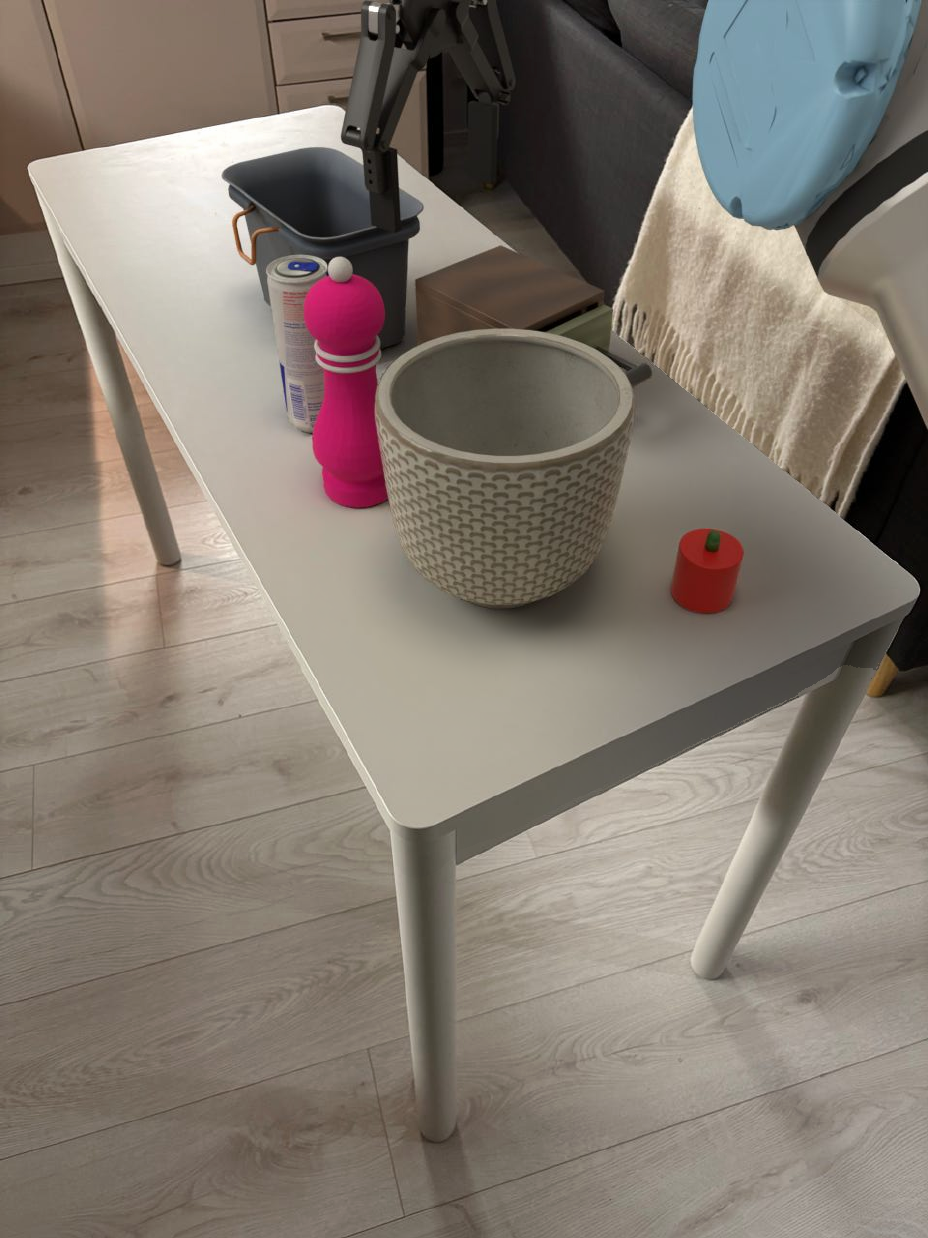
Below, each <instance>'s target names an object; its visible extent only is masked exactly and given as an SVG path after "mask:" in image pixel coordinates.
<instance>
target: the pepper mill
mask: <svg viewBox="0 0 928 1238" xmlns="http://www.w3.org/2000/svg"><path fill="white" fill-rule="evenodd" d="M352 272H353V269H352V265H351V263H350V262H349V260H347V259H346V258H344V257H336V258H334V259H332V260H331V261H330V263H329V265H328V273H329V276H327V277H324V278H323V279H321V280H319V281H318V282H316V283H315V284H314V285H313V286H312V287H311V288H310V290H309V292H308V293H307V296H306V298H305V301H304V309H303V311H304V321H305V325H306V327H307V329H308V331H309V332H310V334H311V335H312V336H313V337H314V338H315V339H316V340H315V343H314V348H315V351H316V355H315V358H316V361H317V363H318V364H319V365H320V366H321V367H322V368H323V373H324V387H325V391H324V397H323V402H322V405H321V408H320V411H319V414H318V416H317V419H316V421H315V425H314V430H313V433H312V436H311V438H312V452H313V455H314V458H315V460H316V461H317V463H318V465H320V467H322V470H321V474H322V475H321V476H322V485H323V491H324V493H325V495H326V496H327V497H328V499H330V500H331V501H332V502H334V503H336V504H338V505H340V506H344V507H349V508H368V507H373V506H376V505H379V504H381V503H383V502H386V501H387V500H389V499H388V494H387V490H386V484H385V478H384V472H383V466H382V459H381V453H380V447H379V441H378V435H377V428H376V420H375V396H376V389H377V385H378V383H379V381H378V375H377V364H378V363H379V361H380V360H381V357H382V351H381V349H380V348H379V347H380V339H379V337H378V336H377V334H378V333H379V332H380V331H381V329H382V326H383V324H384V320H385V309H384V304H383V300H382V297H381V295H380V293H379V291H378V290H377V288H376V287H375V286H374V285H373V284H372V283H371V282H370V281H368V280H366V279H365V278H363V277H360V276H357V275H354V274H352Z"/></svg>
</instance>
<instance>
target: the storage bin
mask: <svg viewBox="0 0 928 1238" xmlns="http://www.w3.org/2000/svg"><path fill="white" fill-rule="evenodd" d="M364 178H365V177H364V167H363V163H361V162H359V161H357V160H356V159H354V158H352V157H350V156H349V155H347V154H346V153H345V152H342V151H340V150H338V149H335V148H331V147H327V146H326V147H325V146H311V147H310V146H309V147H301V148H296V149H293V150H287V151H284V152H280V153H275V154H270V155H265V156H261V157H257V158H252V159H248V160H244V161H240V162H237V163H234V164H231V165H229V166H228V167H225V169H224V170H222V172H221V179H222V180H223V181H224V182H226V183H227V184H229V185H228V188H227V189H228V197H229V198H230V199H231V200H232V201H233V202H234V203H235V204H237V206H238V207H240V208H242V210H241V211H238V212H236V213H235V214H234V215H233V217H232V219H231V224H232V230H233V236H234V242H235V245H236V250H237V252H238V255H239V257H240V258H242V259H243V260H244V261H245V262H246V263H247V264H249V265H250V266H256V270H257V274H258V279H259V283H260V287H261V292H262V296H263V300H264V302H265V303H266V304H267V305H268V306H269V307H271V302H270V296H269V289H268V283H267V277H268V275H267V273H266V269H267V266H268V265H269V264H270V263H271V262H273V261H274V260H276V259H279V258H282V257H286V256H291V255H310V256H315V257H318V258H320V259H322V260H324V261H325V262H326V264H327V266H328V265H329V263H330V261H331V260H332V259H334V258H336V257H344V258H346V259H347V260H349V262H350V263H351V265H352V269H353V272H352V274H354V275H357V276H360V277H363V278H365V279H366V280H368V281H370V282H371V283H372V284H373V285H374V286H375V287H376V288H377V290H378V291H379V293H380V295H381V297H382V300H383V304H384V309H385V320H384V324H383V326H382V329H381V331H380V332H379V333H378V334H377V336H378V337H379V339H380V347H379V348H380V350H382V349H384V348H385V349H386V348H388V347H390V346H394V345H397V344H399V343H401V342H402V341H403V340H404V339H405V336H406V322H407V321H406V318H407V290H408V289H407V288H408V266H409V243H410V241H409V240H410V239H412V238H414V237H416V236H417V234H420V231H421V223H420V219H419V217H418V216H419V215H420V214H421V213H422V212H423V211H424V208H425V206H424V203H422V202H421V200H419V199H418V198H416V197H414V196H413V195H411V194H410V193H409V192H407V191H405V190H404V189H402V188H400V187H399V196H400V215H401V231H399V232H397V233H394V232H391V231H388V230H384V229H381V228H378V227H375V226H372V225H371V212H370V198H369V190H367V189H366V186H365V181H364ZM243 216H244V219H245V223H246V227H247V231H248V237H249V240H250V244H251V246H250V248H251V249H250V250H251V252H250V253H251V257H250V256H248V255H246V254H245V252H244V251H243V248H242V243H241V238H240V234H239V229H238V221H239V219H240V218H241V217H243ZM327 272H328V270H327ZM328 274H329V273H328Z"/></svg>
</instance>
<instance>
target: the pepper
mask: <svg viewBox="0 0 928 1238" xmlns="http://www.w3.org/2000/svg"><path fill="white" fill-rule="evenodd" d="M744 555H745V550H744V547H743V545H742V543H741V542H740V540H738V539H737V538H736V537H735V536H734V535H732V534H730V533H728V532H726V531H723V530H720V529H716V528H708V527H707V528H697V529H692V530H690V531H688V532H687V533H685V534H684V535H682V537H681V538H680V540H679V543H678V549H677V553H676V559H675V563H674V569H673V573H672V579H671V586H670V593H671V596H672V598H673V600H674V601H675V602H676V603H677V604H679V606H681V607H683V608H684V609H686V610H688V611H691V612H693V613H694V612H695V613H699V614H715V613H718V612H721V611H724V610H726V609H727V608H728V607H729V606H730V605H731V603H732V601H733V598H734V594H735V591H736V587H737V583H738V579H739V574H740V571H741V568H742V564H743V559H744Z"/></svg>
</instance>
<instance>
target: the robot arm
mask: <svg viewBox="0 0 928 1238" xmlns="http://www.w3.org/2000/svg"><path fill="white" fill-rule="evenodd" d="M360 7H361V8H360V40H359V43H358V49H357V53H356V54H357V55H356V58H355V64H354V69H353V73H352V79H351V82H350V83H351V84H350V88H349V93H348V97H347V103H346V106H345V107H346V108H345V112H344V118H343V122H342V126H341V127H342V128H341V133H340V140H341V143H342V144H344V145H348V146H351V147H355V148H358V149H360V150H361V152H362V165H363V167H364V177H365V178H364V181H365V186H366V189H367V190H369V198H370V212H371V225H372V226H375V227H378V228H381V229H384V230H388V231H391V232H394V233H397V232H399V231H401V215H400V196H399V188H400V177H399V160H398V148H394V147H390V145H391V143H392V140H393V138H394V134H395V132H396V130H397V127H398V124H399V122H400V119H401V117H402V113H403V111H404V109H405V106H406V104H407V101H408V98H409V96H410V93H411V91H412V88H413V85H414V83H415V80H416V78H417V75H418V72H419V71H421V70H423V69H424V68H425V67H426V65H427V63H428V60H429V59H433V58H436V57H437V56H438V55H440V54H441V53H442V52H445V53H449V55H450V57H451V59H452V60H453V61H454V63H455V65H456V67H457V69H458V71H459V72H460V74H461V75H462V77H463V79H464V81H465V82H466V84H467V86H468V87H469V89H470V91H471V93H472V95H473V96H474V98H475V99H477V100H471V101H468V102H467V179H468V180H472V181H476V182H480V183H482V184H487V185H490V186H492V185H494V184H496V183H497V159H498V158H497V157H498V155H497V154H498V137H499V129H500V127H499V125H500V123H499V121H500V119H499V118H500V105H504V106H507V105H509V104H510V102H511V98H512V93H511V91H513V90H514V89H515V87H516V83H517V82H516V81H517V79H516V75H515V71H514V67H513V64H512V60H511V56H510V53H509V48H508V44H507V41H506V37H505V33H504V29H503V26H502V22H501V18H500V15H499V14H500V13H499V9H498V5H497V0H389V1H388V2H378V1H372V0H364V1H363V2H362V4H361V6H360ZM697 44H698V46H697V56H696V61H695V65H694V68H693V77H692V79H693V80H692V120H693V129H694V130H693V132H694V140H695V144H696V150H697V155H698V158H699V162H700V166H701V169H702V172H703V175H704V177H705V180H706V183H707V184H708V186H709V189H710V191H711V193H712V195H713V196H714V198H715V199H716V201H717V202H718V203H719V205H720V206H721V207H722V208H723V209H724V210H725V211H726V212H727V213H728V214H729V215H730V216H731V217H732V218H735V219H737V220H743V221H744V222H745V223H747V225H748V224H749V225H750V226H752V227H760V228H763V229H764V230H767V231H782V230H783V231H784V230H787V229H790V228H792V227H794V229H795V230H796V232H797V235H798V237H799V239H800V242H801V244H802V246H803V248H804V251H805V253H806V256H807V258H808V260H809V262H810V265H811V267H812V270H813V272H814V274H815V276H816V279H817V281H818V283H819V285H820V287H821V289H822V290H823V292H824V293H826V294H827V295H828V296H831V297H836V298H839V299H842V300H846V301H849V302H853V303H855V304H860V305H863V306H867V307H869V308H870V309H872V310H874V311H875V313H876V314H877V316H878V319H879V321H880V323H881V325H882V326H881V327H882V329H883V330H884V333H885V335H886V337H887V339H888V341H889V344H890V346H891V349H892V351H893V353H894V355H895V357H896V360H897V362H898V364H899V367H900V369H901V372H902V374H903V376H904V378H905V381H906V383H907V385H908V388H909V391H910V392H911V395H912V396H913V397H912V398H913V400H914V401H915V403H916V405H917V408H918V410H919V413H920V415H921V417H922V420H923V422H924V424H925V426H926V429H927V430H928V0H708V1H707V4H706V8H705V10H704V14H703V18H702V22H701V26H700V31H699V35H698V43H697ZM403 46H404V48H403ZM497 70H499V71H497ZM377 130H378V133H377Z"/></svg>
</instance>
